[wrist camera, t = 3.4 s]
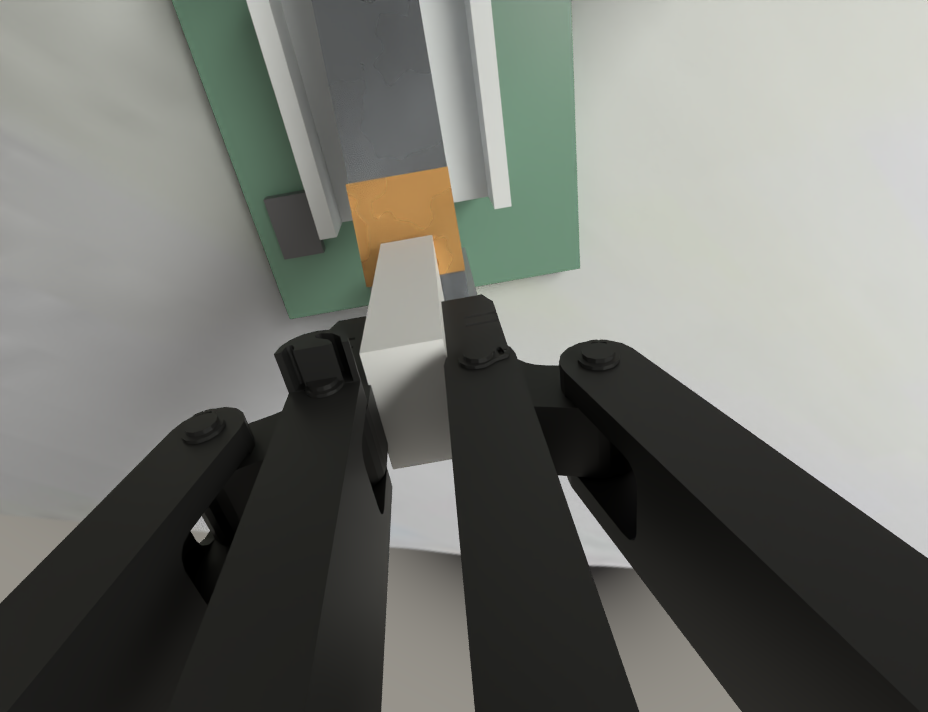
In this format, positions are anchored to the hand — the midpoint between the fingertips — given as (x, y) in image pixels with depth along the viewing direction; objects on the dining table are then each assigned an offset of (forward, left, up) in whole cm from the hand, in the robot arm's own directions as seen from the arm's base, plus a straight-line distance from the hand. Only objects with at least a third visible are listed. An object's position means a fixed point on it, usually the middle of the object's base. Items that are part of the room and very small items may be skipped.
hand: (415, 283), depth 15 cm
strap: (-5, 0, -4) cm, 6 cm away
